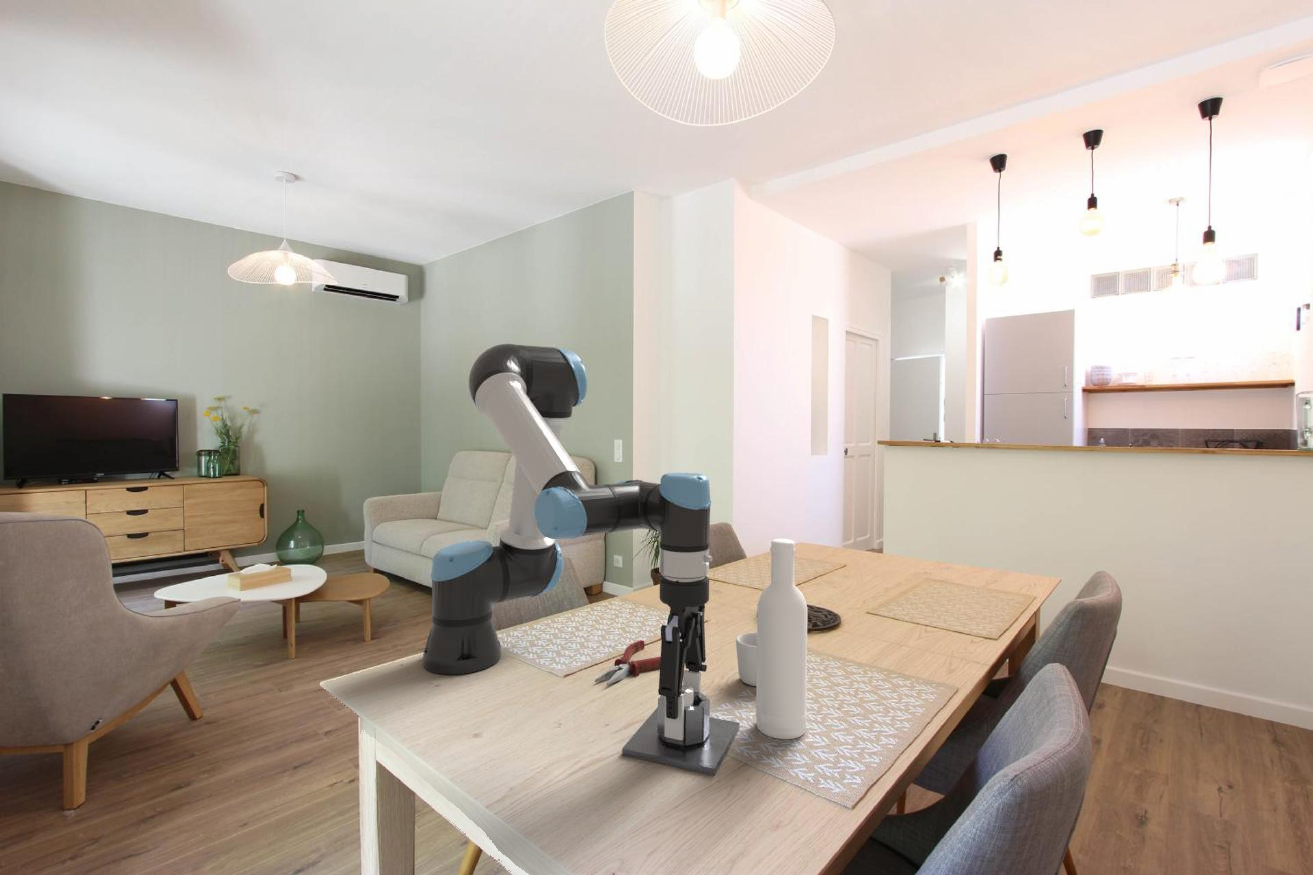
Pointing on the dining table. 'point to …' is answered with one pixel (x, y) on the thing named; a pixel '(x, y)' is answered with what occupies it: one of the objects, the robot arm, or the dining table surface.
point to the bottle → (781, 649)
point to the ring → (688, 720)
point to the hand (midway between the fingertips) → (683, 724)
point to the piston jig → (687, 757)
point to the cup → (747, 657)
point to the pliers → (630, 664)
